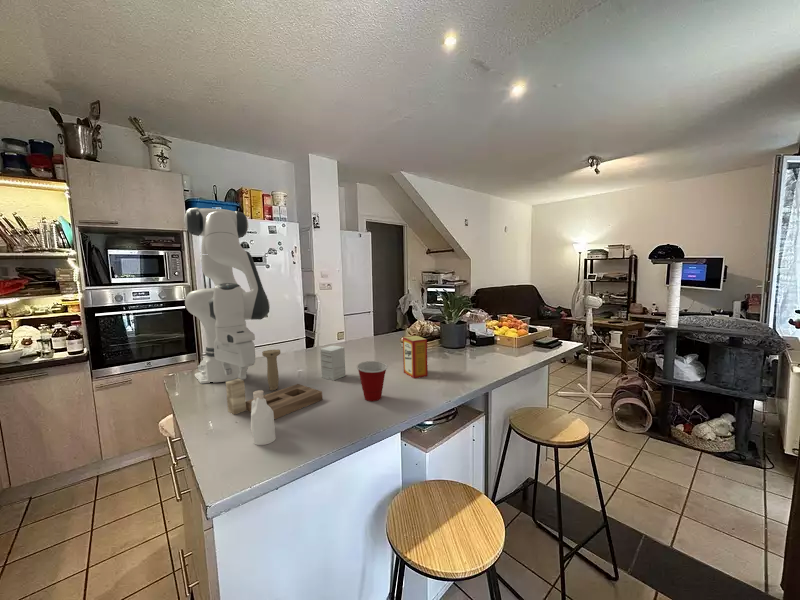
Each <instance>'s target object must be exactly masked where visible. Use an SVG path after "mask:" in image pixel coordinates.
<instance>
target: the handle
mask: <svg viewBox="0 0 800 600" xmlns="http://www.w3.org/2000/svg"><path fill="white" fill-rule="evenodd" d="M280 354H281V349H267V350H263V351H262V356H263V357H264V358H266V360H267V362H266V363H267V366H266V367H267V368H266V369H267V370H266V371H267V372H266V375H267V376H266V377H267V378H266V379H267V384H268V388H269V391H273V390H274V391H277V390H279V381H280V380H279V379H280V378H279V369H278V362H277V361H278V360H277V357H278V356H280ZM276 389H277V390H276Z"/></svg>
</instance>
